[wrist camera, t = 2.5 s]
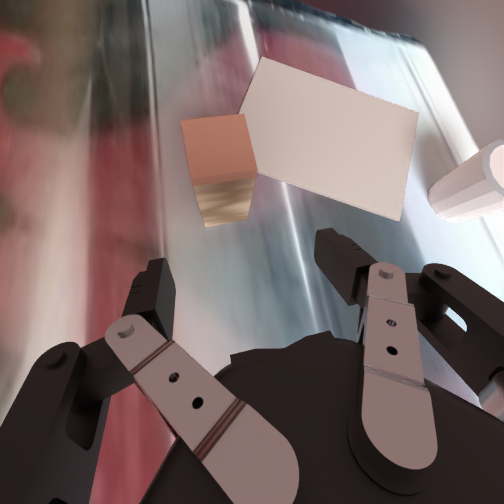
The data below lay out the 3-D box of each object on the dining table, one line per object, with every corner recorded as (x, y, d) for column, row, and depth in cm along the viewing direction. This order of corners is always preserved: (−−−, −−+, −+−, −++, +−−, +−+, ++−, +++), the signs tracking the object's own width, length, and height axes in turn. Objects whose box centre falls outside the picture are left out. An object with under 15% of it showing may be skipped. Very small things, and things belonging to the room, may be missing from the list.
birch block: (205, 226, 25) (190, 179, 16) (198, 188, 26) (180, 120, 17) (246, 219, 26) (257, 169, 16) (238, 182, 27) (244, 113, 17)
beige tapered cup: (432, 166, 30) (492, 126, 23) (481, 192, 30) (555, 159, 23) (416, 210, 28) (475, 181, 22) (467, 237, 28) (542, 216, 21)
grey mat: (220, 160, 27) (220, 158, 27) (261, 58, 31) (261, 56, 31) (397, 221, 28) (399, 220, 28) (417, 114, 32) (419, 112, 31)
